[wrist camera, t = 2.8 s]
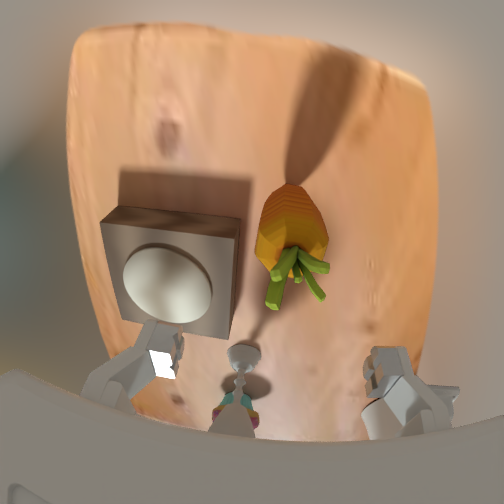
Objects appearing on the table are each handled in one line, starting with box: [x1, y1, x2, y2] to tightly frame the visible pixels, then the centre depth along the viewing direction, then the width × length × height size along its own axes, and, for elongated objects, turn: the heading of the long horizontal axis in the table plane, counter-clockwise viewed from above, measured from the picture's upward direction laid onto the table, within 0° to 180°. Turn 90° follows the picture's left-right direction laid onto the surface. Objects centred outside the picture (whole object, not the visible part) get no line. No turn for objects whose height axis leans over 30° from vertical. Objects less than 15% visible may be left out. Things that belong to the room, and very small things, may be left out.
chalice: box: [208, 345, 261, 438], centre depth 34 cm, size 7×7×18 cm
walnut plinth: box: [100, 206, 240, 340], centre depth 32 cm, size 14×14×4 cm
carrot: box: [255, 184, 330, 310], centre depth 21 cm, size 5×5×15 cm
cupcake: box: [212, 392, 259, 429], centre depth 45 cm, size 9×8×12 cm
